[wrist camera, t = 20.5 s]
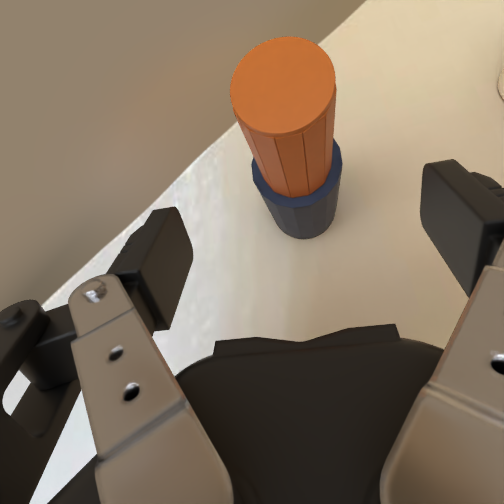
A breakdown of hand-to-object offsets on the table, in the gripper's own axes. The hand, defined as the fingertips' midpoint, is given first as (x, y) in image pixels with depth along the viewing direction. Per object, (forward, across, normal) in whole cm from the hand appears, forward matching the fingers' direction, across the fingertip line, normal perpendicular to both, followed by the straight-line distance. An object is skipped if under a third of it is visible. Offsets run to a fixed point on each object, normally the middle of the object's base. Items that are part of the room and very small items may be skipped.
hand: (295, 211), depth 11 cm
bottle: (+23, 0, +12) cm, 26 cm away
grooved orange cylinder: (+14, 0, +4) cm, 15 cm away
